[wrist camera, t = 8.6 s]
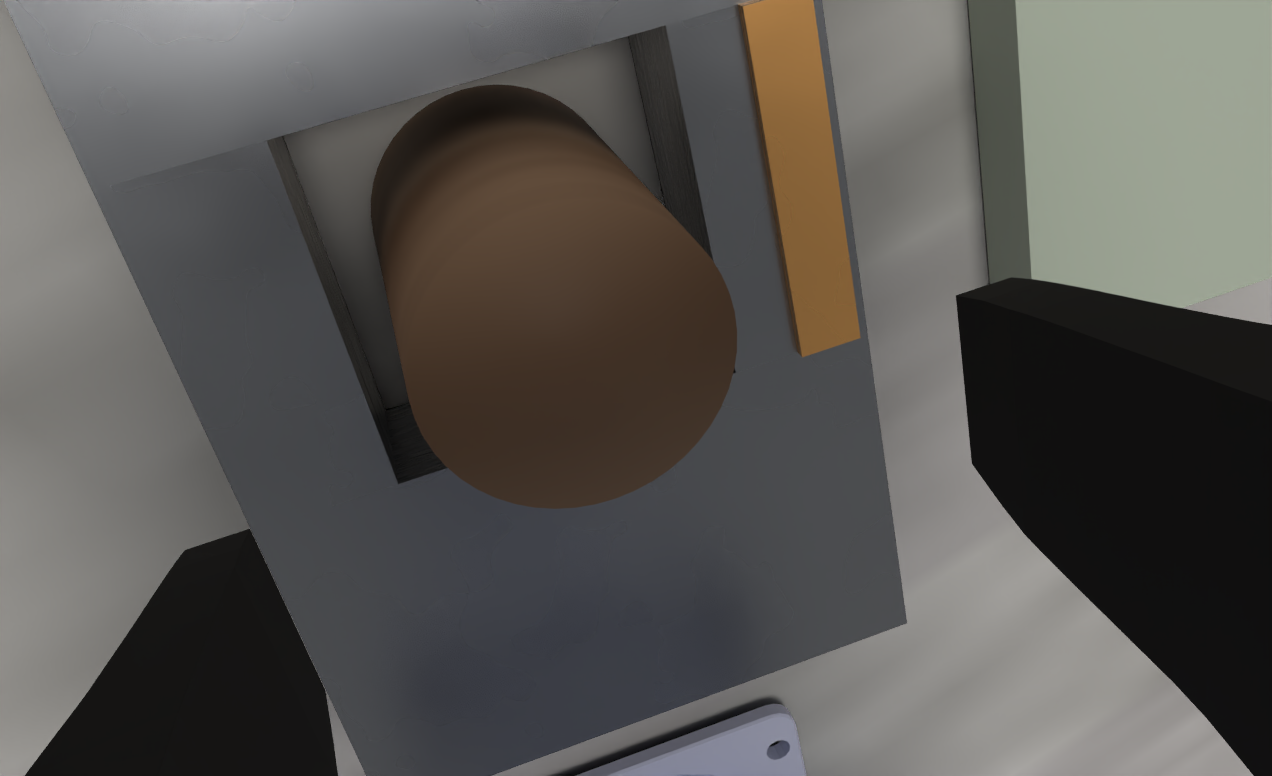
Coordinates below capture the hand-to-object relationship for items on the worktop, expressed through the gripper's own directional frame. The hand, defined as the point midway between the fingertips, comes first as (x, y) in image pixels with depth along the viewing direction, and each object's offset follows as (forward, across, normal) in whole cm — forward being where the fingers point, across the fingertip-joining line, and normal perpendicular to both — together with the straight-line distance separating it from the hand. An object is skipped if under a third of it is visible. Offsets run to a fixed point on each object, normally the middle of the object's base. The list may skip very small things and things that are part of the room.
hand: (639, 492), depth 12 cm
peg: (+9, 0, 0) cm, 9 cm away
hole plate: (+9, 0, 0) cm, 9 cm away
